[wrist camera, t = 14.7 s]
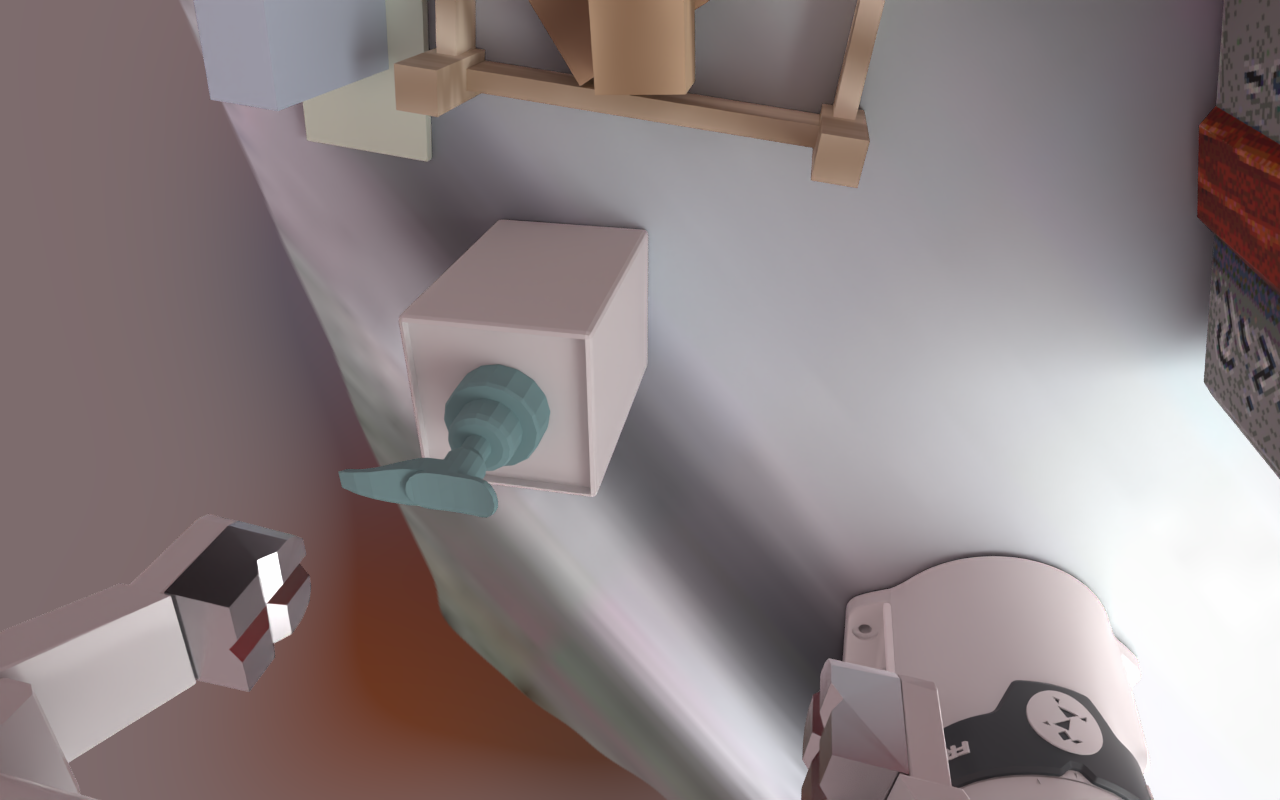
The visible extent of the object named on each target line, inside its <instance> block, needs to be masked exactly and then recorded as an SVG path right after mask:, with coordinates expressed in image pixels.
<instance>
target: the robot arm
mask: <svg viewBox="0 0 1280 800" xmlns="http://www.w3.org/2000/svg"><path fill="white" fill-rule="evenodd" d="M305 555H306V552H305V546H304V542H303V539H302V538H300V537H297V536H294V535H291V534H287V533H283V532H279V531H275V530H271V529H267V528H264V527H260V526H256V525H252V524H249V523H245V522H240V521H235V520H231V519H228V518H224V517H220V516H216V515H212V514H208V515H205V516H203V517H200V518H198V519H197V520H196V521H195V522H194V523H193V524H192V525H191V526H190V527H189V528H188V529H187V530H186V531H184V532H183V533H182V534H181V535H180V536H179V537H178V538H177V539H176V540H175V541H174V542H173V543H172V544H171V545H170V546H169V547H168V548H167V549H166V550H165V551H164V552H163V553H162V554H161V555H160V556H159V557H158V558H157V559H156V560H155V561H154V562H153V563H152V564H150V566H148V567H147V568H146V569H145V570H144V571H143V572H142V573H141V574H140V575H139V576H138V577H137V578H136V579H135V580H134V581H133V582H132V583H131V584H130V585H126V584H121V583H120V584H117V585H115V586H112V587H110V588H107V589H105V590H102V591H100V592H97V593H95V594H92V595H90V596H87V597H85V598H82V599H80V600H77V601H75V602H72V603H70V604H68V605H65V606H62V607H60V608H57V609H55V610H52V611H50V612H48V613H45V614H43V615H40V616H38V617H35V618H33V619H30V620H28V621H25V622H23V623H20V624H18V625H15V626H13V627H10V628H8V629H5V630H3V631H0V800H99V799H95V798H91V797H88V796H84V795H80V787H79V785H78V783H77V781H76V779H75V777H74V774H73V772H72V770H71V768H70V766H69V764H68V762H70V761H72V760H73V759H75V758H76V757H78V756H80V755H81V754H83V753H84V752H86V751H88V750H89V749H91V748H93V747H94V746H96V745H97V744H99V743H101V742H102V741H104V740H105V739H107V738H109V737H110V736H112V735H113V734H115V733H117V732H118V731H120V730H122V729H123V728H125V727H126V726H128V725H130V724H131V723H133V722H134V721H136V720H138V719H139V718H141V717H143V716H144V715H146V714H147V713H149V712H150V711H152V710H154V709H155V708H157V707H159V706H160V705H162V704H163V703H165V702H167V701H168V700H170V699H172V698H173V697H175V696H176V695H178V694H180V693H181V692H183V691H184V690H186V689H188V688H189V687H191V686H193V685H194V684H195V683H196V680H198V681H203V682H207V683H212V684H216V685H221V686H225V687H229V688H234V689H239V690H243V691H248V692H249V691H250V690H251V689H252V687H253V686H254V685H255V683H256V682H257V681H258V679H259V678H260V677H261V675H262V674H263V673H264V671H265V670H266V669H267V667H268V666H269V664H270V663H271V662H272V660H273V659H274V658H275V650H274V643H275V642H277V641H279V640H281V639H283V638H285V637H287V636H289V635H291V634H292V633H293V632H294V630H295V629H296V627H297V626H298V624H299V623H300V622H301V620H302V618H303V616H304V613H305V611H306V608H307V606H308V603H309V600H310V592H311V583H310V576H309V574H308V573H307V572H306V571H305V570H304V568H303V567H302V566H301V565H300V564H299V563H300V562H301V560H302V559H303V558H304V557H305ZM863 624H866V625H863ZM1141 675H1142V674H1141V669H1140V666H1139V662H1138V659H1137V658H1136V656H1135V655H1134V654H1133V653H1132V652H1131V651H1130V650H1129V649H1128V648H1127V647H1126V646H1125V645H1124V644H1122V643H1121V642H1120V641H1119V640H1118V639H1117V638H1116V637H1115V635H1114V633H1113V631H1112V628H1111V625H1110V621H1109V618H1108V615H1107V613H1106V610H1105V608H1104V607H1103V605H1102V603H1101V602H1100V600H1099V599H1098V598H1097V596H1096V595H1095V594H1094V593H1093V592H1092V591H1091V590H1090V589H1089V588H1088V587H1087V586H1086V585H1084V584H1083V583H1082V582H1080V581H1079V580H1078V579H1076V578H1075V577H1073V576H1071V575H1070V574H1068V573H1066V572H1064V571H1062V570H1059V569H1057V568H1055V567H1052V566H1049V565H1047V564H1043V563H1040V562H1036V561H1032V560H1027V559H1022V558H1015V557H1004V556H983V557H972V558H965V559H959V560H955V561H950V562H947V563H943V564H940V565H937V566H935V567H932V568H930V569H927V570H925V571H923V572H921V573H919V574H917V575H915V576H914V577H912V578H910V579H908V580H907V581H905V582H903V583H901V584H899V585H897V586H895V587H893V588H890V589H885V590H879V591H874V592H870V593H866V594H862V595H859V596H856V597H854V598H852V599H851V600H850V601H849V602H848V604H847V607H846V620H845V634H844V648H843V661H839V660H834V659H829V658H828V659H827V661H826V662H825V664H824V666H823V669H822V672H821V674H820V691H819V692H817V693H815V694H813V697H812V700H811V703H810V706H809V709H808V714H807V718H806V723H805V728H804V739H803V757H802V760H803V761H804V763H805V765H806V766H807V768H808V769H809V770H808V772H807V775H806V778H805V780H804V783H803V786H802V791H801V800H1154V798H1153V795H1152V793H1151V790H1150V788H1149V786H1148V785H1146V782H1145V779H1144V777H1143V774H1144V772H1146V771H1148V770H1149V767H1150V756H1149V752H1148V748H1147V744H1146V740H1145V737H1144V733H1143V729H1142V725H1141V721H1140V717H1139V714H1138V710H1137V706H1136V703H1135V699H1134V695H1133V692H1132V687H1134V686H1135V685H1136V684H1137V683H1138V682H1139V680H1140V679H1141Z"/></svg>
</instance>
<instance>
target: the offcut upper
mask: <svg viewBox="0 0 1280 800" xmlns="http://www.w3.org/2000/svg"><path fill="white" fill-rule="evenodd" d="M588 2H589V16H590V31H591V45H592V59H593V73H594V88H595V95H683V94H686V93H687V92H688V90H689V89H690V88H691V86H692V85H693V84H694V82H695V0H588Z"/></svg>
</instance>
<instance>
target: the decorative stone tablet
mask: <svg viewBox="0 0 1280 800" xmlns="http://www.w3.org/2000/svg"><path fill="white" fill-rule="evenodd" d="M1197 217H1198V218H1199V219H1200V220H1201V221H1202V222H1203V223H1204V224H1205V225H1206V226H1207V227H1208V228H1209V229H1210V230H1211V231H1212V232H1213V233H1214V246H1213V260H1212V274H1211V288H1210V302H1209V316H1208V330H1207V344H1206V358H1205V372H1204V383H1205V385H1206V386H1207V388H1208V390H1209V391H1210V393H1211V395H1212V396H1213V397H1214V398H1215V400H1216V401H1217V402H1218V403H1219V405H1220V406H1221V407H1222V408H1223V410H1224V411H1225V412H1226V413H1227V414H1228V416H1229V417H1230V418H1231V419H1232V421H1233V422H1234V423H1235V424H1236V426H1237V427H1238V428H1239V429H1240V431H1241V432H1242V433H1243V434H1244V435H1245V437H1246V438H1247V439H1248V440H1249V442H1250V443H1251V444H1252V445H1253V447H1254V448H1255V449H1256V450H1257V452H1258V453H1259V454H1260V455H1261V456H1262V458H1263V459H1264V460H1265V461H1266V463H1267V464H1268V465H1269V466H1270V468H1271V469H1272V470H1273V471H1274V473H1275V474H1276V475H1277V476H1278V477H1279V479H1280V0H1224V6H1223V20H1222V33H1221V47H1220V60H1219V74H1218V87H1217V101H1216V106H1215V107H1214V109H1213V110H1212V111H1211V112H1210V113H1209V114H1208V116H1207V117H1206V118H1205V119H1204V120H1203V121H1202V123H1201V124H1200V125H1199V152H1198V206H1197Z"/></svg>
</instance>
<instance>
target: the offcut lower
mask: <svg viewBox="0 0 1280 800" xmlns="http://www.w3.org/2000/svg"><path fill="white" fill-rule="evenodd" d="M708 1H710V0H695V10H696V9H697V8H699V7H700V6H702V5H703V4H705V3H707V2H708ZM529 2H530V4H531V5H532V7H533V9H534V10H535V12H536V14H537V15H538V17H539V19H540V20H541V22H542V24H543V25H544V27H545V29H546V30H547V32H548V34H549V35H550V37H551V39H552V40H553V42H554V44H555V45H556V47H557V49H558V50H559V52H560V54H561V55H562V57H563V59H564V60H565V62H566V64H567V65H568V67H569V69H570V70H571V72H572V74H573V75H574V77H575V79H576V80H577V82H578V84H579V85H580V86H581V85H583V84H584V83H586V82H587V81H589V80H590V79H592V78H593V77H594V73H593V59H592V45H591V31H590V16H589V2H588V0H529Z"/></svg>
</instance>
